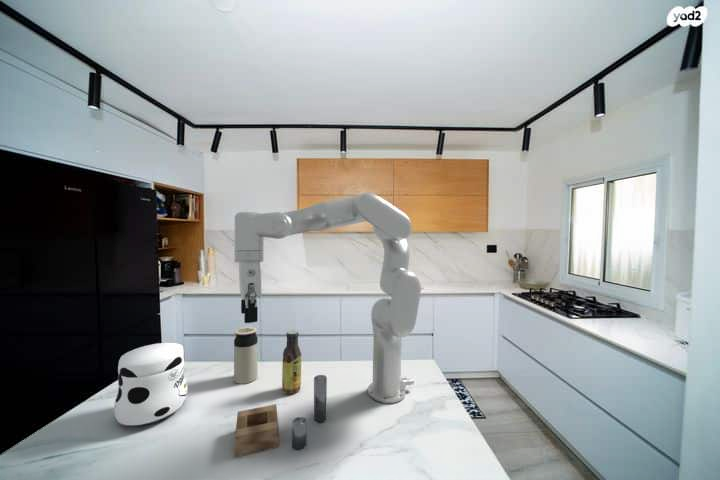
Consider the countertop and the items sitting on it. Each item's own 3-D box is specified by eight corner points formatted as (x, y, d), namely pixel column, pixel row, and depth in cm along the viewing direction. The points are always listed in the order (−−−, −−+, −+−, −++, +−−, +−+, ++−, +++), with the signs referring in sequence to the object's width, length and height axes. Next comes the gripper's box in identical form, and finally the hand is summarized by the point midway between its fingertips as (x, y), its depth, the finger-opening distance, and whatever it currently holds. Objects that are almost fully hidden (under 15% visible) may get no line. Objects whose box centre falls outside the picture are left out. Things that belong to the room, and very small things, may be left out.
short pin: (305, 438, 73) (305, 415, 73) (307, 448, 70) (307, 424, 70) (291, 441, 72) (291, 418, 72) (292, 452, 69) (293, 427, 68)
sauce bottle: (296, 396, 92) (296, 336, 91) (278, 394, 93) (278, 334, 93) (304, 386, 98) (304, 329, 98) (287, 383, 100) (287, 328, 99)
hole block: (276, 421, 80) (276, 404, 79) (278, 446, 70) (278, 427, 70) (237, 429, 76) (237, 411, 76) (234, 457, 67) (234, 436, 67)
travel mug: (252, 384, 99) (252, 334, 98) (229, 384, 99) (229, 333, 98) (260, 373, 107) (260, 326, 106) (239, 373, 107) (240, 326, 106)
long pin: (324, 414, 83) (325, 374, 83) (327, 421, 80) (327, 380, 80) (312, 416, 82) (313, 376, 82) (315, 424, 79) (315, 382, 78)
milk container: (200, 404, 87) (200, 347, 87) (136, 441, 71) (135, 371, 71) (165, 390, 94) (165, 337, 94) (101, 421, 79) (100, 358, 78)
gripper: (268, 258, 72) (268, 324, 73) (258, 254, 88) (258, 308, 88) (236, 259, 69) (236, 328, 69) (232, 254, 84) (232, 311, 85)
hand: (248, 317), depth 79 cm, fingers open, 9 cm apart
